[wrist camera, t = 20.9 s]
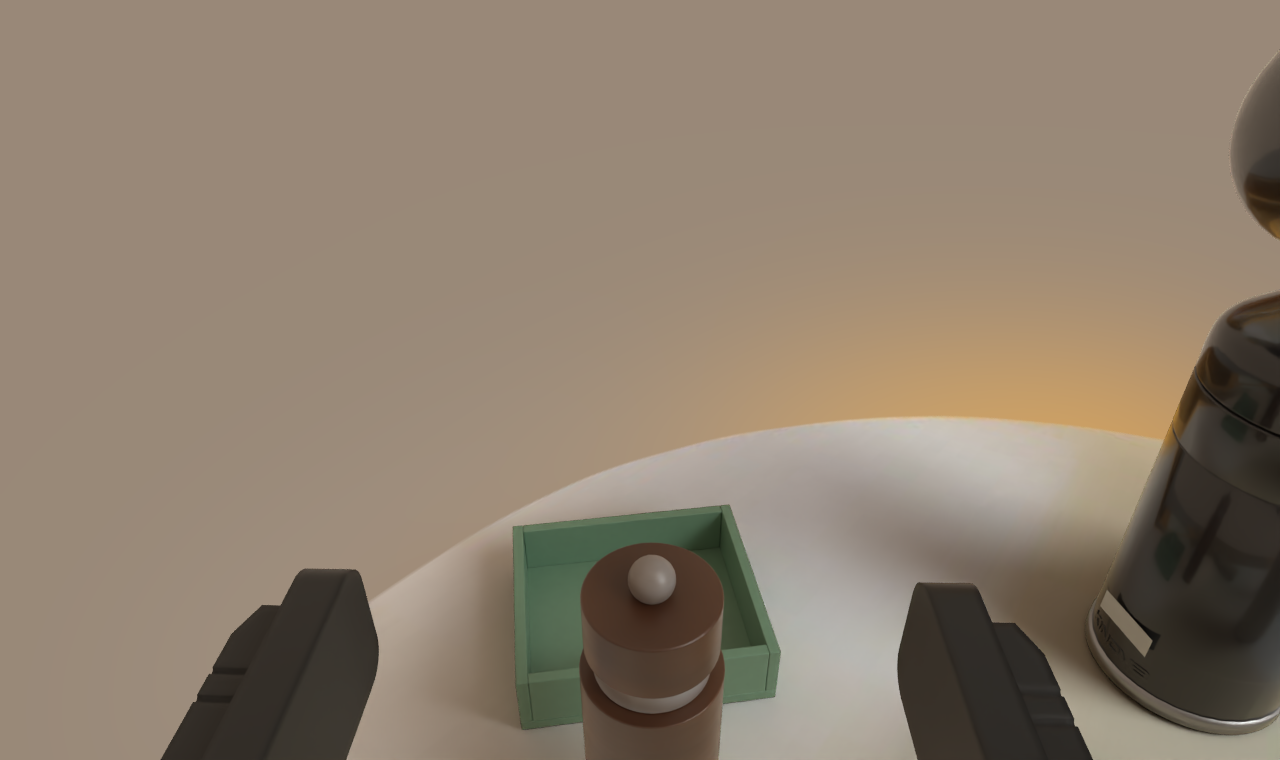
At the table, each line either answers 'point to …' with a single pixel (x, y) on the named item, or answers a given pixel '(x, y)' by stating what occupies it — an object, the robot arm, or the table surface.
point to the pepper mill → (652, 655)
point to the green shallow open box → (552, 611)
